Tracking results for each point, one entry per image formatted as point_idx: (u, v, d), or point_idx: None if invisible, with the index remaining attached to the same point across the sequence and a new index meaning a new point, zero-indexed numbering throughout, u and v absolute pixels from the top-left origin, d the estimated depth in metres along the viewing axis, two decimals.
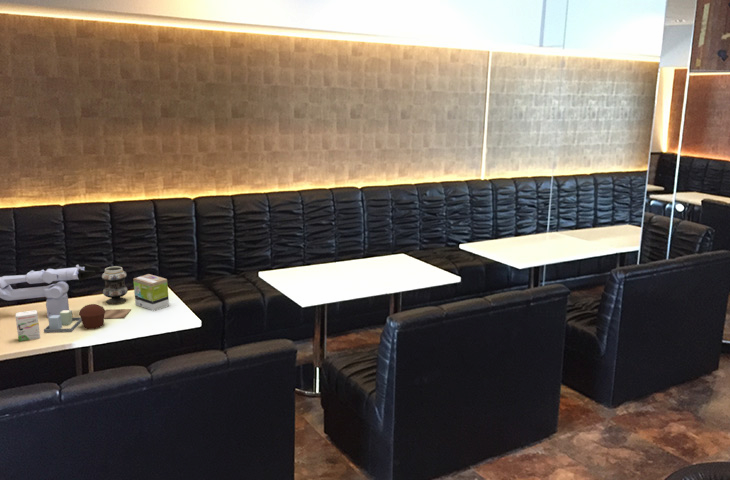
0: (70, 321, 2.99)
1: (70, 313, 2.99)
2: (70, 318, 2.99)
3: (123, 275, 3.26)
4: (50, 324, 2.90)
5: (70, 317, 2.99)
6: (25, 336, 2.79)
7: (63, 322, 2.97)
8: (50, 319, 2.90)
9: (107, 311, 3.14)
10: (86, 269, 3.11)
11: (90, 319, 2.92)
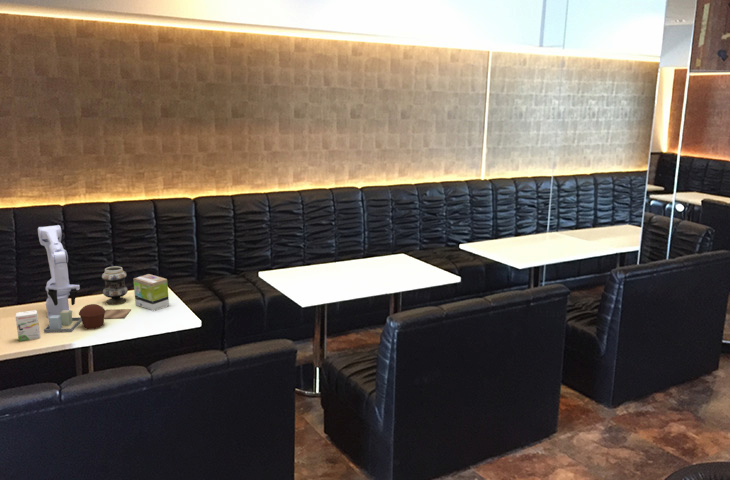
0: (70, 321, 2.99)
1: (70, 313, 2.99)
2: (70, 318, 2.99)
3: (123, 275, 3.26)
4: (50, 324, 2.90)
5: (70, 317, 2.99)
6: (25, 336, 2.79)
7: (63, 322, 2.97)
8: (50, 319, 2.90)
9: (107, 311, 3.14)
10: None
11: (90, 319, 2.92)
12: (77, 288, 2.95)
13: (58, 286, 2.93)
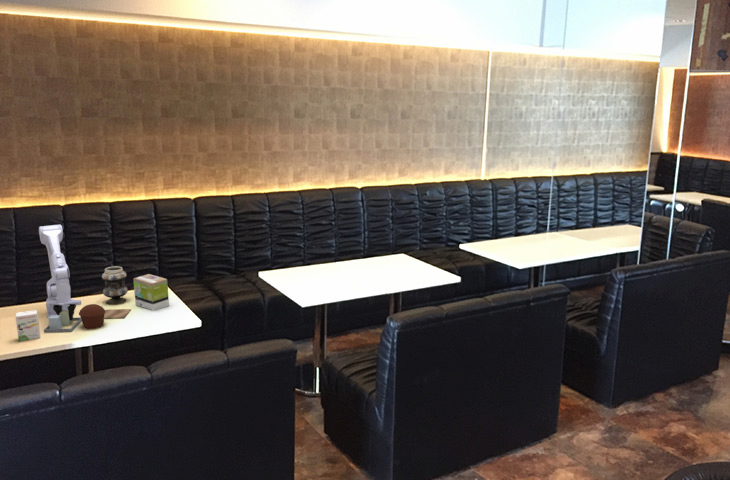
0: (70, 321, 2.99)
1: None
2: None
3: (123, 275, 3.26)
4: (50, 324, 2.90)
5: None
6: (25, 336, 2.79)
7: (63, 322, 2.97)
8: (50, 319, 2.90)
9: (107, 311, 3.14)
10: None
11: (90, 319, 2.92)
12: (79, 303, 2.97)
13: (60, 302, 2.94)
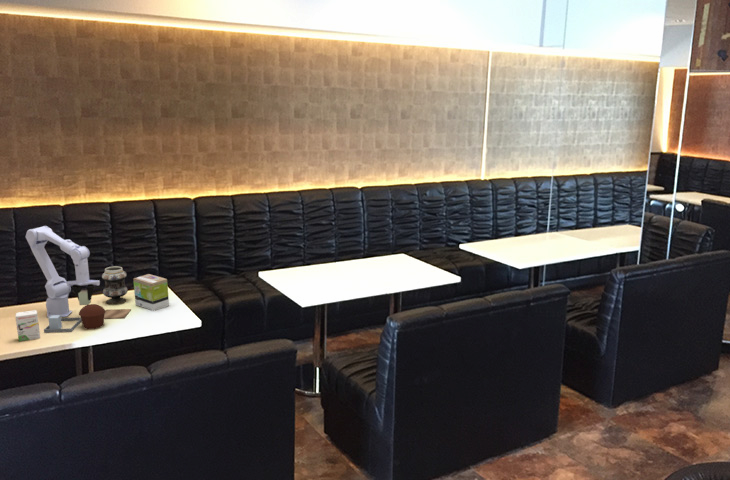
0: (89, 301, 3.04)
1: None
2: None
3: (123, 275, 3.26)
4: (50, 324, 2.90)
5: None
6: (25, 336, 2.79)
7: (82, 302, 3.02)
8: (50, 319, 2.90)
9: (107, 311, 3.14)
10: None
11: (90, 319, 2.92)
12: (97, 283, 3.02)
13: (79, 281, 2.99)
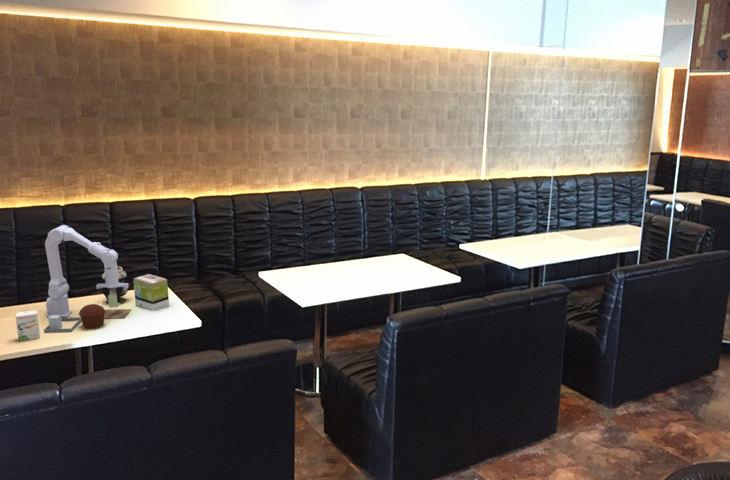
0: (118, 303, 3.10)
1: None
2: None
3: (123, 275, 3.26)
4: (50, 324, 2.90)
5: None
6: (25, 336, 2.79)
7: (111, 304, 3.09)
8: (50, 319, 2.90)
9: (107, 311, 3.14)
10: None
11: (90, 319, 2.92)
12: (126, 286, 3.08)
13: (108, 284, 3.06)
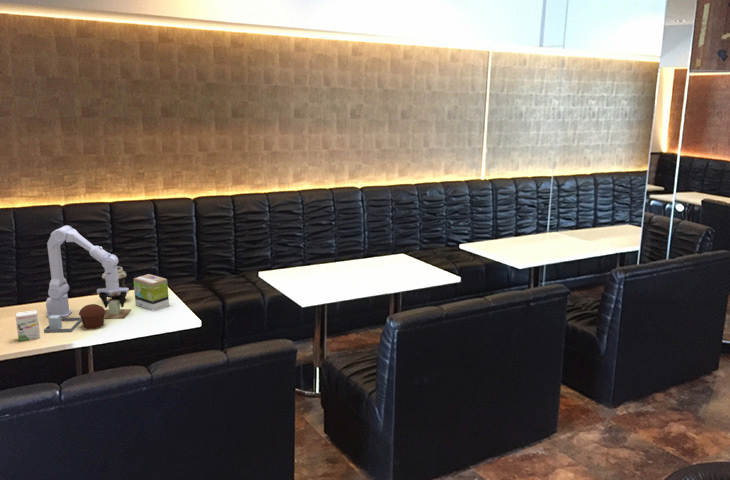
0: (118, 311, 3.11)
1: (118, 303, 3.11)
2: (118, 308, 3.11)
3: (123, 275, 3.26)
4: (50, 324, 2.90)
5: (118, 307, 3.11)
6: (25, 336, 2.79)
7: (112, 312, 3.09)
8: (50, 319, 2.90)
9: (107, 311, 3.14)
10: None
11: (90, 319, 2.92)
12: (127, 291, 3.09)
13: (109, 289, 3.06)
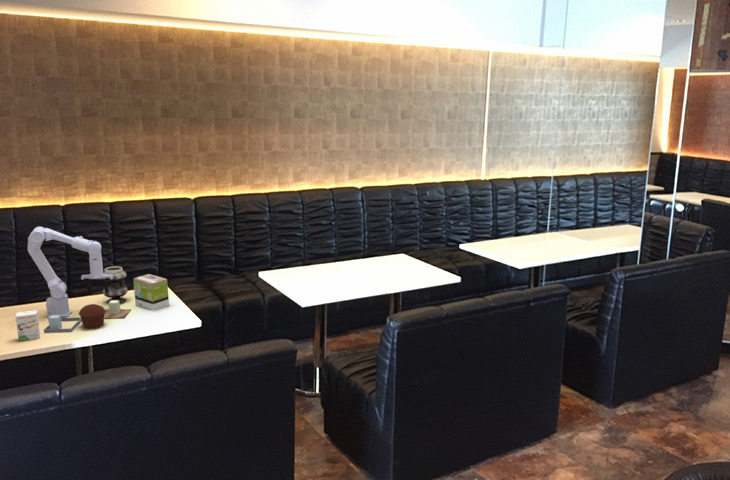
0: (118, 311, 3.11)
1: (118, 303, 3.11)
2: (118, 308, 3.11)
3: (123, 275, 3.26)
4: (50, 324, 2.90)
5: (118, 307, 3.11)
6: (25, 336, 2.79)
7: (112, 312, 3.09)
8: (50, 319, 2.90)
9: (107, 311, 3.14)
10: None
11: (90, 319, 2.92)
12: (111, 277, 3.13)
13: (93, 275, 3.10)
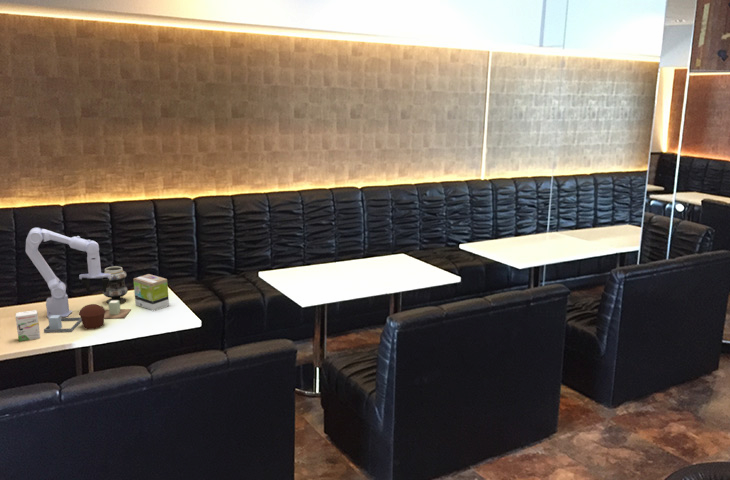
0: (118, 311, 3.11)
1: (118, 303, 3.11)
2: (118, 308, 3.11)
3: (123, 275, 3.26)
4: (50, 324, 2.90)
5: (118, 307, 3.11)
6: (25, 336, 2.79)
7: (112, 312, 3.09)
8: (50, 319, 2.90)
9: (107, 311, 3.14)
10: None
11: (90, 319, 2.92)
12: (109, 276, 3.14)
13: (91, 275, 3.11)
